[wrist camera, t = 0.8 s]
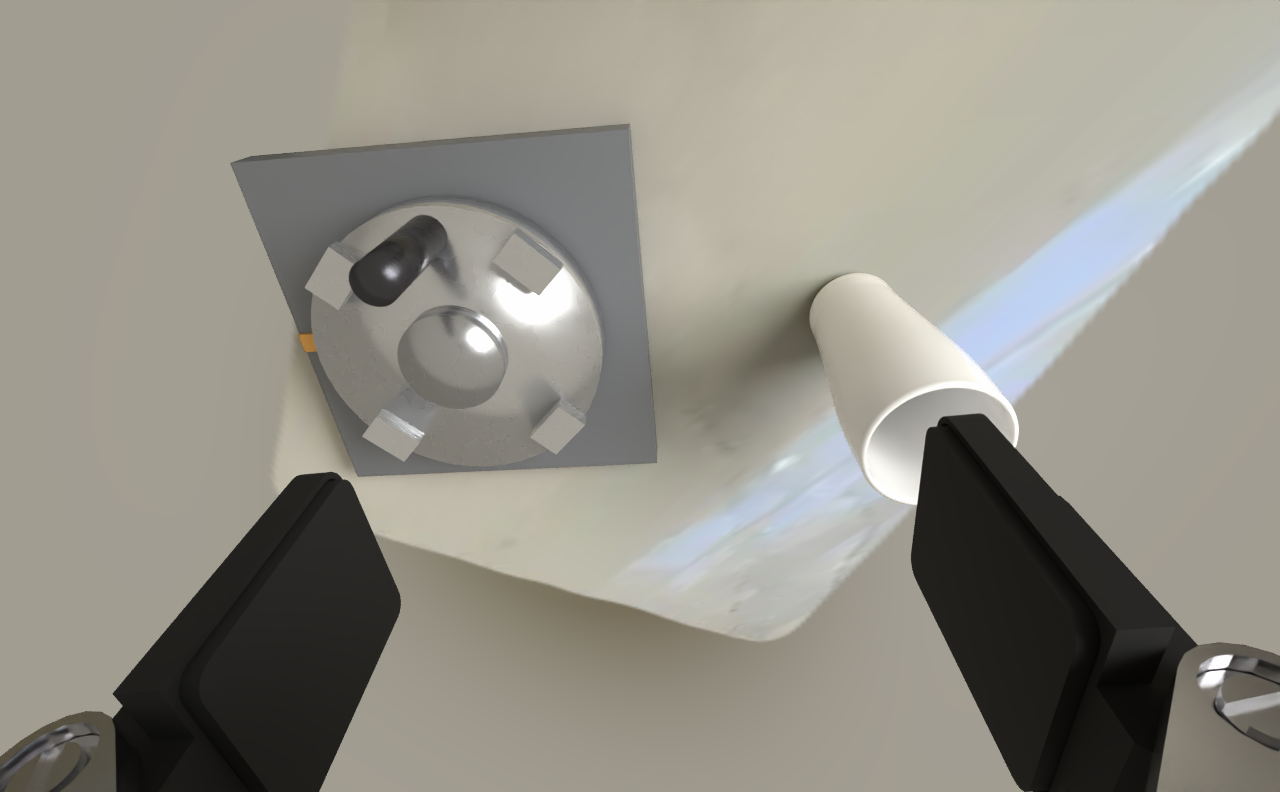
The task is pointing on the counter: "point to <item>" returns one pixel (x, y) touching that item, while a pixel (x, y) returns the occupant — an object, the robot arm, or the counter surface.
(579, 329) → the round metal lid
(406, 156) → the gray square base plate
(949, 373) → the drinking glass
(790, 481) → the counter surface
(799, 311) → the counter surface
